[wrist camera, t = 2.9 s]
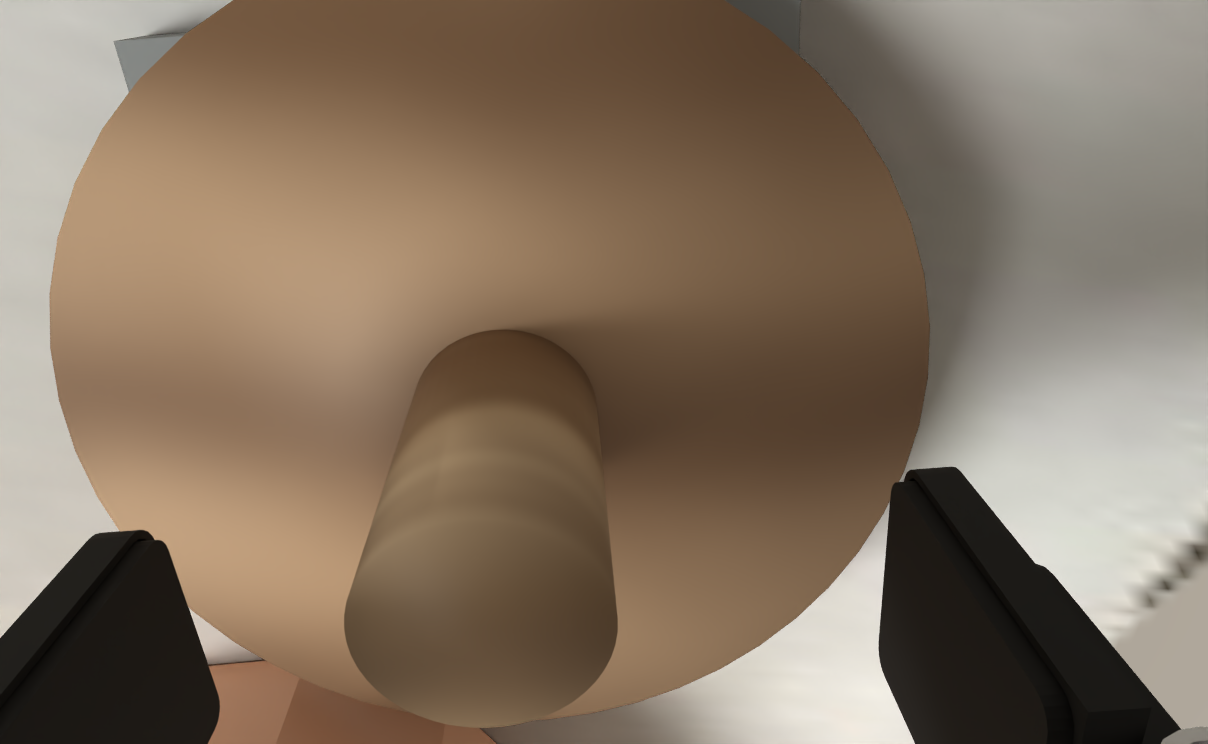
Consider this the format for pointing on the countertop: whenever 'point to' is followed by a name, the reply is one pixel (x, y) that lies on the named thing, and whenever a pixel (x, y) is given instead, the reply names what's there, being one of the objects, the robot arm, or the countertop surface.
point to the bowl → (314, 713)
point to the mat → (766, 3)
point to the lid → (491, 342)
